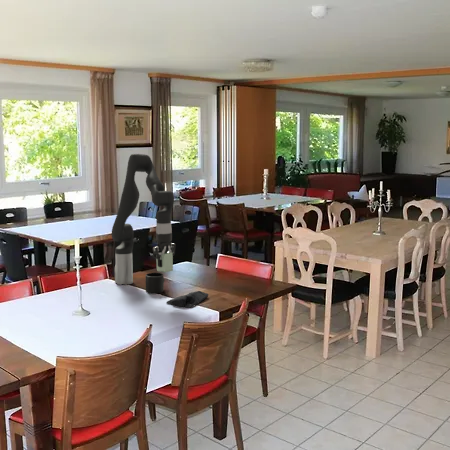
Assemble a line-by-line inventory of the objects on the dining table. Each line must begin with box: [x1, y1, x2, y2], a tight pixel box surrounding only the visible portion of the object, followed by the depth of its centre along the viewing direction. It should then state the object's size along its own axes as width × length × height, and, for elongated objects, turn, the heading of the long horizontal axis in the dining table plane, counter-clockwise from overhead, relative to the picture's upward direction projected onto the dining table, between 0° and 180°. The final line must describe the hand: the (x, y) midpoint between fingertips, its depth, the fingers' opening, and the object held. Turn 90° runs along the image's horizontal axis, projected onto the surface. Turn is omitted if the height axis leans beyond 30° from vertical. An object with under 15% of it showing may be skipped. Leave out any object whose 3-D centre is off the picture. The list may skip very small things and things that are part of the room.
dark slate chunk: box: [166, 290, 209, 309], centre depth 279 cm, size 15×22×5 cm
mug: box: [144, 272, 165, 294], centre depth 296 cm, size 9×12×9 cm
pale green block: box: [156, 251, 174, 274], centre depth 275 cm, size 6×6×9 cm
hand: (164, 265), depth 275 cm, fingers closed on pale green block, 5 cm apart
